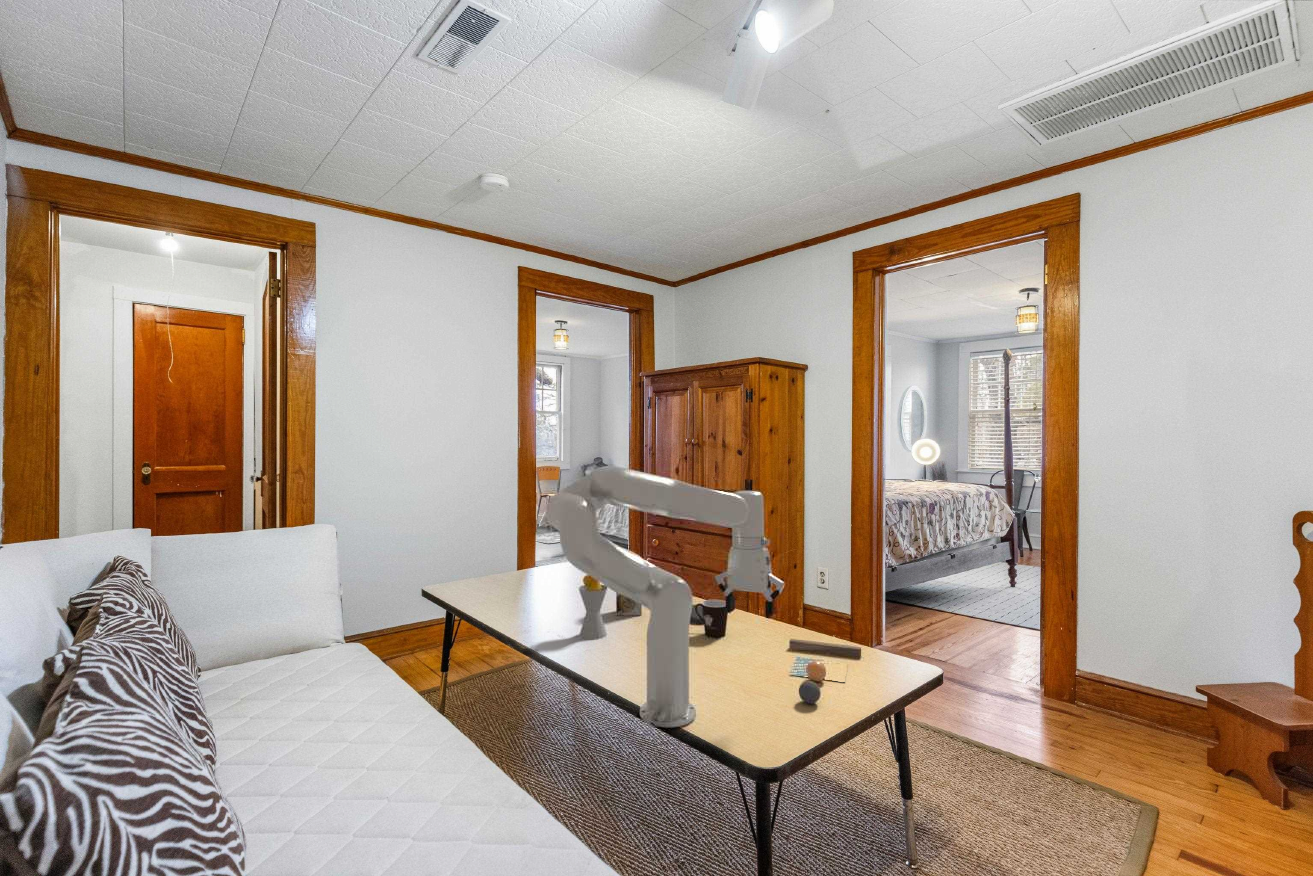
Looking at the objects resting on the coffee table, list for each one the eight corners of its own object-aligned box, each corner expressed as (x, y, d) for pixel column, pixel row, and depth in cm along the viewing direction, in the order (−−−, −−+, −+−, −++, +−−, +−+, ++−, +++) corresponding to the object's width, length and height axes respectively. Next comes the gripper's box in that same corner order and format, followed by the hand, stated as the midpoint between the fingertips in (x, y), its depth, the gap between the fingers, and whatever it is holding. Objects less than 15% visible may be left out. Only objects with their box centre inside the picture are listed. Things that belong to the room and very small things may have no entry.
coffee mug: (733, 637, 191) (733, 605, 191) (709, 640, 188) (709, 608, 188) (716, 626, 202) (716, 596, 201) (692, 629, 198) (692, 598, 198)
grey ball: (819, 709, 140) (819, 687, 140) (797, 705, 142) (797, 684, 142) (821, 700, 145) (821, 679, 145) (800, 697, 147) (800, 676, 147)
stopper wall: (860, 658, 173) (860, 649, 173) (789, 649, 180) (789, 640, 180) (861, 655, 175) (861, 647, 175) (790, 647, 182) (790, 638, 182)
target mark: (844, 683, 155) (844, 682, 155) (789, 675, 160) (789, 674, 160) (848, 664, 168) (848, 663, 168) (796, 657, 173) (796, 656, 173)
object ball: (825, 685, 154) (825, 666, 154) (805, 683, 155) (805, 663, 155) (827, 678, 158) (827, 659, 158) (807, 675, 160) (807, 656, 160)
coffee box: (641, 610, 220) (641, 565, 220) (641, 615, 214) (641, 569, 214) (616, 610, 220) (616, 565, 220) (615, 615, 214) (615, 569, 214)
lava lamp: (609, 630, 197) (609, 522, 197) (604, 640, 188) (604, 526, 188) (582, 630, 198) (582, 522, 198) (575, 639, 189) (575, 526, 189)
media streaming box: (670, 617, 214) (670, 608, 214) (700, 609, 223) (700, 601, 223) (699, 627, 202) (699, 618, 202) (730, 618, 212) (730, 610, 212)
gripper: (788, 542, 145) (789, 614, 145) (721, 537, 154) (722, 605, 154) (778, 548, 138) (779, 623, 139) (708, 542, 147) (710, 613, 147)
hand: (749, 614), depth 146 cm, fingers open, 9 cm apart
